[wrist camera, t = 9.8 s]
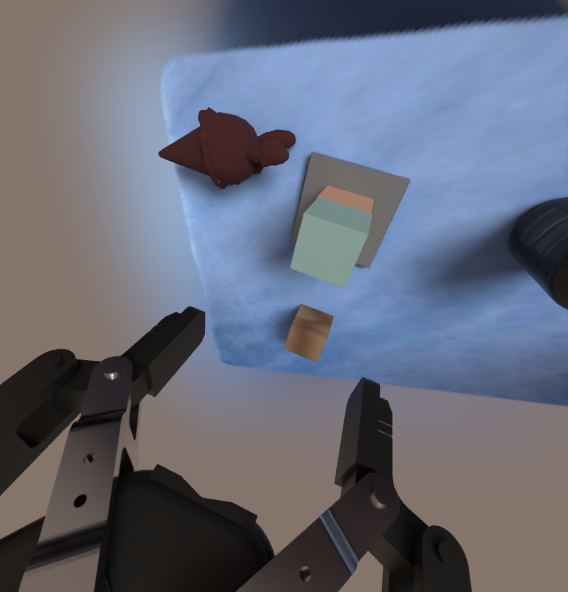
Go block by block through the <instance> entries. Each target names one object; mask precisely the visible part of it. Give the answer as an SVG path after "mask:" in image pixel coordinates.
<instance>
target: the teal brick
mask: <svg viewBox="0 0 568 592" xmlns="http://www.w3.org/2000/svg"><path fill="white" fill-rule="evenodd" d="M371 218H372V214H370V213H367V212H364V211H361V210H358V209H354V208H351V207H348V206H345V205H342V204H339V203H336V202H332V201H329V200H326V199H323V198H320V197H318V198H317V199H316V200H315V201H314V203H313V204H312V205H311V206H310V207H309V208H308V209H307V210H306V211H305V212H304V215H303V219H302V223H301V226H300V230H299V234H298V238H297V242H296V246H295V250H294V254H293V258H292V262H291V265H290V269H293V270H296V271H299V272H301V273H304V274H307V275H310V276H312V277H315V278H318V279H321V280H323V281H326V282H329V283H332V284H334V285H337V286H340V287H343V288H345V287H346V284H347V282H348V280H349V277H350V275H351V273H352V271H353V268H354V266H355V264H356V261H357V259H358V257H359V255H360V252H361V250H362V248H363V245H364V243H365V241H366V238H367V236H368V233H369V228H370V223H371Z"/></svg>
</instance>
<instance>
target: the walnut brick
mask: <svg viewBox="0 0 568 592" xmlns="http://www.w3.org/2000/svg"><path fill="white" fill-rule="evenodd" d="M333 317H334V316H332V315H329V314H327V313H324V312H321V311H319V310H316V309H313V308H311V307H308V306H305V305H303V304H301V306H300V308H299V310H298V312H297V314H296V316H295V319H294V321H293V323H292V325H291V328H290V332H289V335H288V338H287V341H286V345H285V348H284V349H285V350H288V351H290V352H293V353H295V354H298V355H300V356H303V357H305V358H308V359H310V360H312V361H315V362H317V361H318V359H319V356H320V354H321V352H322V349H323V347H324V345H325V343H326V340H327V338H328V334H329V331H330V327H331V324H332V320H333Z"/></svg>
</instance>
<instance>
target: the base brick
mask: <svg viewBox="0 0 568 592" xmlns="http://www.w3.org/2000/svg"><path fill="white" fill-rule="evenodd" d="M318 197H320V198H323V199H326V200H329V201H332V202H336V203H339V204H342V205H345V206H348V207H351V208H354V209H358V210H361V211H364V212H367V213H370V214H371V211H372V207H373V202H374V199H371V198H368V197H364V196H361V195H358V194H354V193H351V192H348V191H344V190H341V189H338V188H334V187H331V186H327V187H326V188H325V189H324V190H323V191H322V192H321V193H320V194H319V195H318ZM318 197H317V198H318Z"/></svg>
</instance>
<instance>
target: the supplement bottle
mask: <svg viewBox="0 0 568 592" xmlns="http://www.w3.org/2000/svg"><path fill="white" fill-rule="evenodd" d="M509 245H510V250H511V253H512V255H513V256H514V258H515V259H516V260H517V261H518V262H519V263H520V265H521V266H522V267H523V268H524V269H525V270H526V271H527V272H528V273H529V274H530V276H531V277H532V278H533V279H534V280H535V281H536V282H537V283H538V284H539V285H540V286H541V288H542V289H543V290H544V291H545V292H546V293H547V294H548V295H549V296H550V297H551V298H552V299H553V300H554V301H555V302H556V303H557V304H558V305H560V306H561V307H563V308H565V309H567V310H568V197H564V198H559V199H555V200H552V201H549V202H546V203H544V204H542V205H540V206H538V207H536V208H534V209H533V210H531V211H530V212H529V213H527V214H526V215H525V216H524V217H523V218H522V219H521V220H520V221H519V222H518V223H517V224H516V226H515V227H514V229H513V231H512V233H511V236H510V242H509Z"/></svg>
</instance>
